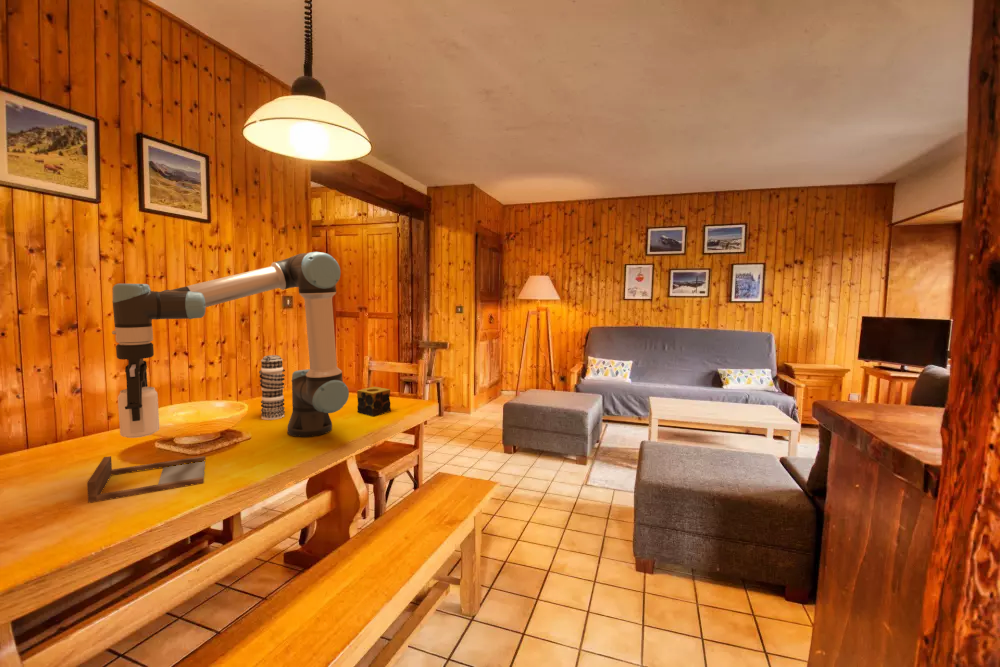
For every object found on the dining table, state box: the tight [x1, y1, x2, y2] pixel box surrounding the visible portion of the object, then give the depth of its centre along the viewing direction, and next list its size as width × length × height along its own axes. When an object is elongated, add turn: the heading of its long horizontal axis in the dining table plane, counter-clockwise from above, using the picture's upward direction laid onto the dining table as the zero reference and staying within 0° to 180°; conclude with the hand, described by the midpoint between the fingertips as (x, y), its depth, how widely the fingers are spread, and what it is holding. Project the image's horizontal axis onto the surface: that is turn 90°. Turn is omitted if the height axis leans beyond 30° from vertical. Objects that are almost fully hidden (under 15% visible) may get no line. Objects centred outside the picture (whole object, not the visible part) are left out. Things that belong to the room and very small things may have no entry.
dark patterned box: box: [356, 386, 392, 417], centre depth 189 cm, size 10×10×10 cm
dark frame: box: [86, 455, 206, 503], centre depth 119 cm, size 23×18×5 cm
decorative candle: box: [258, 354, 286, 421], centre depth 177 cm, size 9×9×25 cm
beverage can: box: [117, 386, 160, 439], centre depth 116 cm, size 8×8×12 cm
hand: (140, 427), depth 117 cm, fingers closed on beverage can, 8 cm apart
